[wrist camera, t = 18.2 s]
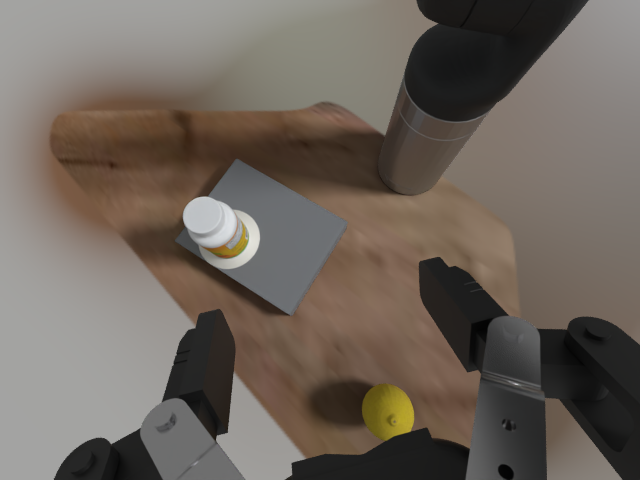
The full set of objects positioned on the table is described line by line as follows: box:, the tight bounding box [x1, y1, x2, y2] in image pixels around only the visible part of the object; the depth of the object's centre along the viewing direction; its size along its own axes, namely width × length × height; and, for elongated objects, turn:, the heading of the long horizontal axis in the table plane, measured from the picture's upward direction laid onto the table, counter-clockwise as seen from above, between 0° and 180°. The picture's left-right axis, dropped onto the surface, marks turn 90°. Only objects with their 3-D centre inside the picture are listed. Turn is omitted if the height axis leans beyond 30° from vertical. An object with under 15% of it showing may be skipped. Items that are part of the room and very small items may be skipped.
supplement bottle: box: [183, 197, 249, 259], centre depth 38 cm, size 5×5×10 cm
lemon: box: [362, 384, 414, 441], centre depth 36 cm, size 6×6×8 cm
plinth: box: [175, 158, 348, 316], centre depth 44 cm, size 14×18×3 cm
